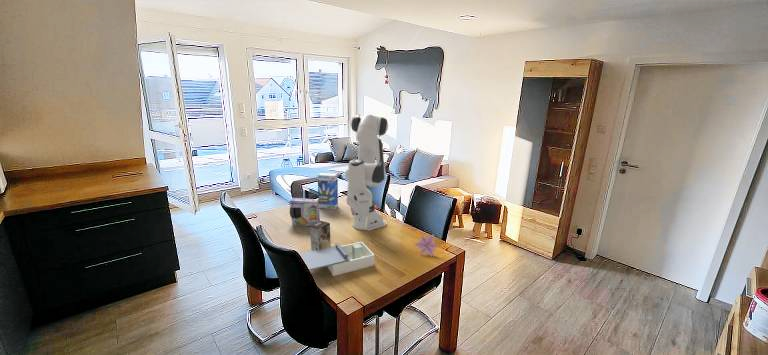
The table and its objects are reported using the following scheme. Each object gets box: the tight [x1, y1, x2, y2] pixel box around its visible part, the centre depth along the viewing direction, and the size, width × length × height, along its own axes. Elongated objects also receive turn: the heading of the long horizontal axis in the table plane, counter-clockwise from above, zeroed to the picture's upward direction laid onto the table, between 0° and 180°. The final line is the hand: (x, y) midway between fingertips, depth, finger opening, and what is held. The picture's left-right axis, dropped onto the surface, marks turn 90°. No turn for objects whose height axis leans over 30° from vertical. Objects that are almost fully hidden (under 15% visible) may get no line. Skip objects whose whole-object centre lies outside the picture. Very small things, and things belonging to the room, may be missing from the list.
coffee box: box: [309, 220, 332, 251], centre depth 171 cm, size 9×6×16 cm
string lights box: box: [317, 172, 339, 210], centre depth 234 cm, size 13×8×26 cm, turn 81°
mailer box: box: [326, 241, 376, 277], centre depth 161 cm, size 22×16×6 cm
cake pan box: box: [289, 197, 321, 227], centre depth 203 cm, size 19×5×18 cm, turn 80°
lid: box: [299, 242, 350, 271], centre depth 154 cm, size 22×16×3 cm
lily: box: [414, 234, 439, 257], centre depth 173 cm, size 12×12×10 cm
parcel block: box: [352, 244, 362, 259], centre depth 163 cm, size 4×4×8 cm
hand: (357, 218), depth 158 cm, fingers open, 8 cm apart
